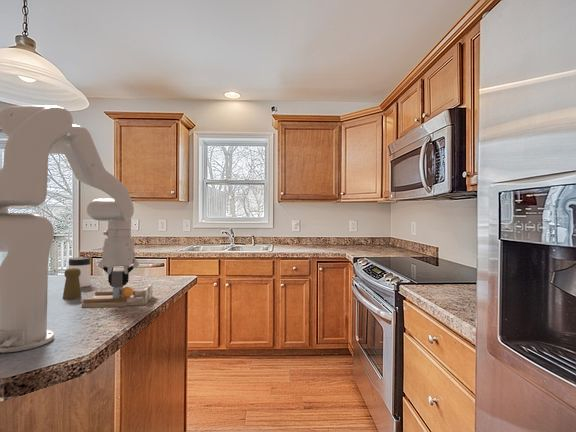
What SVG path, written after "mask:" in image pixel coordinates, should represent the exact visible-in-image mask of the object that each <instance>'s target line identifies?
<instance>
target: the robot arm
mask: <svg viewBox="0 0 576 432" xmlns="http://www.w3.org/2000/svg"><path fill="white" fill-rule="evenodd" d="M73 119H74V118H73V115H72V113H71V112H70V111H69V110H68V109H67V108H64V107H63V106H62V107H61V106H58V105H9V106H6V107H4V108H3V109H1V110H0V130H1V131H2V132H3V134H4V135H6V136H7V137H8V138H7V140H6V141H5V144H4V145H5V146H4V155H3V165H2V168H1V167H0V253H7V254H6V255H5V257H4V259H3V260H2V262H1V264H0V353H3V354H4V353H15V352H22V351H27V350H32V349H35V348H39V347H40V346H44V345H46V344H48V343H50V342H52V341H53V340H54V338H55V333H54V331H52V330H49V329H48V327H47V326H48V290H49V289H48V283H49V281H48V279H49V278H48V274H49V259H50V251H51V247H52V243H53V240H54V233H55V231H54V225H53V224H52V222H51V221H50V219H48V218H47V217H45V216H43V215H40V214H36V213H31V212H30V213H28V212H8V209H9V208H24V209H25V208H35V207H40V206H42V205H43V204H44V203H45V201H46V199H47V194H48V171H49V168H48V167H49V165H48V164H49V156H50V155H51V154H52V155H54V154H55V155H56V154H57V155H64V156H65V158H66V159H67V162H68V164H69V166H70V168H71V170H72V172H73V174H74V176H75V179H77V181H79V182H81V183H83V184H85V185H87V186H90V187H93V188H94V189H97V190H100V191H102V192H104V193H105V194H107V196H110V197H111V198H97V199H93V200H91V201H89V203H88V204H87V206H86V213H87V215H88V217H89V218H91V219H93V220H94V221H100V222H105V221H106V222H107V230H103V233H102V234H103V235H104V236H107V237H106V238H104V241H103V246H102V256H101V260H100V261H99V263H98V264H97V266H98V268H100V269H102V270H104V272H105V273H106V274H107V276H108V277H107V279H108V280H107V281H108V284H109V286H110V287H111V279H112V272H113V271H114V268H115V267H123V270H124V274H123V285H124V286H126V285H128V283H129V275H130V274H129V273H131V272H132V270H134V269H136V268H137V267H139V266H140V263H139V261H138V260H137V259H136V257H135V243H134V240H133V239H134V238H132V235H131V234H132V218H133V215H134V212H135V210H134V209H135V208H134V204H133V200H132V198H131V195H130V192H129V190H128V189H127V187H126V186H125V184H123V183H122V182H121V180H119V179H118V178H117V177H115V176H114V175H113V174H111V173H110V172H109V171H108V170H106V168H105V166H104V164H103V162H102V159H101V156H100V154H99V152H98V150H97V146H96V144H95V142H94V139H93V137H92V135H91V133H90V132H89V131H88V129H87V128H85V127H84V126H82V125H77V124H73V123H74V120H73Z"/></svg>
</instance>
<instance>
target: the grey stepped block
mask: <svg viewBox="0 0 576 432" xmlns="http://www.w3.org/2000/svg"><path fill="white" fill-rule="evenodd" d="M123 274H124V269H121V270H116V269H115V270H113V272H112V279H111V286H110V287H111V288H112V291H113V298H120V297H121V296H122V295H121V291H122V289H123V288H124V287H125V285H123Z"/></svg>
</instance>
